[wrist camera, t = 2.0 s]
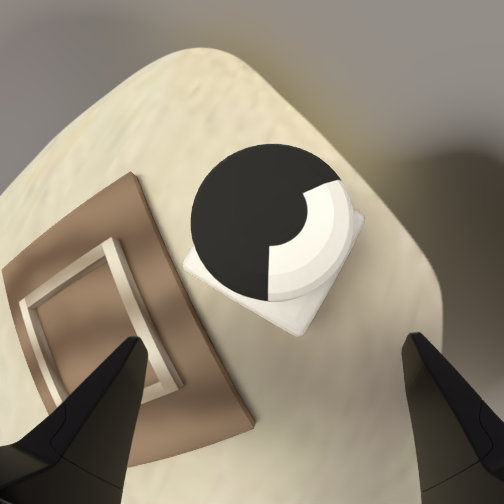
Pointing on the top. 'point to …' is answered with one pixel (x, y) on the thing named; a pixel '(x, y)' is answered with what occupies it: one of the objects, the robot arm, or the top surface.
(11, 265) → the walnut stand
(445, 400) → the robot arm
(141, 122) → the top surface
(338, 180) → the medicine bottle
